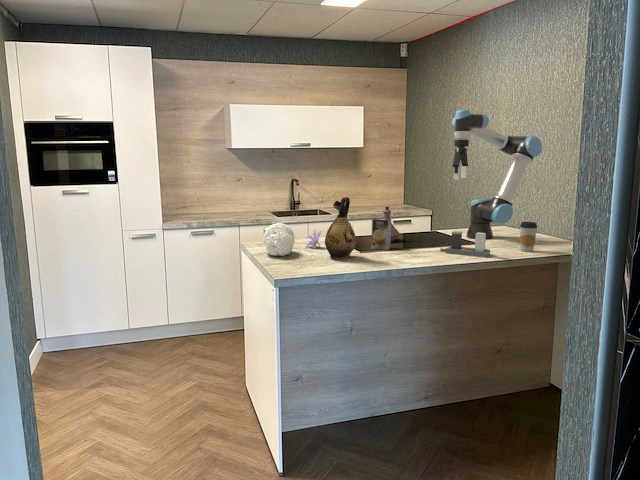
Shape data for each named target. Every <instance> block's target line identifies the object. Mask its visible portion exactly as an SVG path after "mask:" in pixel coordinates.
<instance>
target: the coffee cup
mask: <svg viewBox="0 0 640 480" xmlns="http://www.w3.org/2000/svg"><path fill="white" fill-rule="evenodd" d="M519 228H520V235H519V238H520V239H519V240H520V242H519V243H520V246H519V247H520V248H519V249H520V251H521V252H523V253H533V252H534V249H535V244H536V237H537V230H538V224H537V222H535V221H533V222H532V221H521V223H520V227H519Z"/></svg>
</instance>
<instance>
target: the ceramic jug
mask: <svg viewBox="0 0 640 480" xmlns="http://www.w3.org/2000/svg"><path fill="white" fill-rule="evenodd" d="M350 201H351V200H350V197H349V196H345V197H344V196H343V197H342V198H341V200H340V201H338V200H335V201H334V202H333V204H332V207H333V208H334V209H336V210H337V211H338V214H337V215H336V218H335V219H334V220H333V221H332V222H331V224H330V226H329V228H328V229H327V231H326V235H325V238H324V246H325V249H326V250H327V252H328V254H329V258H331V259H333V260H335V259H337V260H345V258H346V259H349V258H350V255H351V254H352V252H353V251H354V249H355V247H356V244H357V238H356V234H355V230H354V228H353V226H352V225H351V222H350V221H349V220H348V213H349V209H350V205H351V202H350Z"/></svg>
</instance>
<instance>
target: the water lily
mask: <svg viewBox="0 0 640 480" xmlns="http://www.w3.org/2000/svg"><path fill="white" fill-rule="evenodd" d="M321 234H322V230H319V232H318V230H317V229H316V228H314V230H313V233H310V234H309V235H307V236H306V237H305V238H306V240H307V241H305V243H306V244H305V245H304V247H305V246H308V247H311V248H312V249H313V248H314V250H315V249H316V248H317V245H318V246H319V247H320V246H321V244H320V243H319V241H320V237H321Z"/></svg>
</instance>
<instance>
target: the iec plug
mask: <svg viewBox="0 0 640 480" xmlns="http://www.w3.org/2000/svg"><path fill="white" fill-rule="evenodd" d="M486 240H487V239H486V233H476V237H475V239H474V242H475V243H474V248H475V251H480V252H485V249H486Z"/></svg>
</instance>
